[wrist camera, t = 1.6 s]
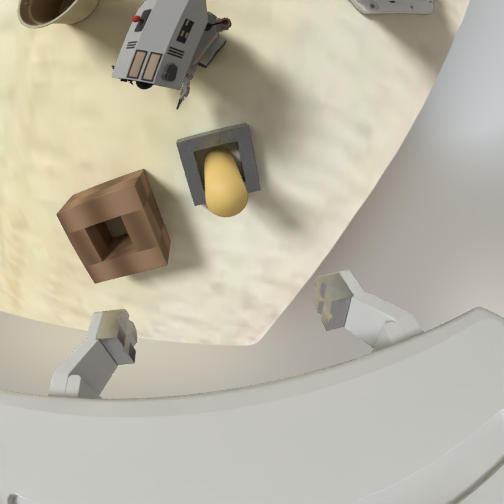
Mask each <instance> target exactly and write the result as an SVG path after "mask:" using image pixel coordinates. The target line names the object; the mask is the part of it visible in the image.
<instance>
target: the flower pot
mask: <svg viewBox="0 0 504 504" xmlns="http://www.w3.org/2000/svg"><path fill="white" fill-rule="evenodd" d="M65 2H66V0H20V1H19V5H18V19H19V21H20V22H21V24H22V25H24V26H25V27H28V28H41V27H45V26H48V25H50V24H52V23H62V24H74V23H77V22H79V21H81V20H83V19H85V18H86V17H88V16H89V15H90V14H91V13H92V12H93V11H94V9H95V8H96V6H97V5H98V2H99V0H68V1H67V2H66V4H65Z"/></svg>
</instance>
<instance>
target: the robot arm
mask: <svg viewBox="0 0 504 504" xmlns="http://www.w3.org/2000/svg"><path fill="white" fill-rule="evenodd" d="M350 1H351V3H352V4H353V5H354V6H355V7H356V8H357V9H358V10H359V11H360V12H361V13H363V14H384V13H412V14H430V13H432V11H433V8H434V1H435V0H350ZM370 4H371V5H372V7H373V8H372V7H371V6H370ZM315 286H316V290H315V291H314V295H313V299H314V305H315V307H316V310H317V312H318V313H320V314H322V317H321V320H322V323H323V325H324V327H325V329H326V331H328V330H332V329H336V328H341V327H345V328H346V329H347V330H349V331H350V332H351V333H353V334H354V335H356V336H357V337H358V338H360V339H361V340H363V341H364V342H365V343H367V344H368V345H370V346H371V347H372V348H374V349H373V351H372V353H371V354H368V355H365V356H362V357H359V358H356V359H353V360H350V361H347V362H344V363H340V364H337V365H333V366H330V367H327V368H323V369H319V370H316V371H312V372H308V373H304V374H300V375H297V376H292V377H289V378H284V379H279V380H275V381H270V382H266V383H261V384H256V385H250V386H245V387H240V388H234V389H227V390H220V391H214V392H206V393H199V394H189V395H179V396H168V397H154V398H131V399H102V398H101V397H100V396H99V395H100V393H101V392H102V390H103V389H104V387H105V385H106V384H107V382H108V381H109V379H110V377H111V376H112V374H113V373H114V371H115V370H116V368H117V366H118V365H122V364H132V363H135V353H136V351H135V349H134V345H135V344H136V343H137V331H136V328H135V325H134V323H133V322H132V321H130V320H129V314H128V312H127V310H125V309H120V310H110V311H103V312H95V313H94V314H93V316H92V319H91V323H90V326H89V330H88V334H87V338H86V341H83V342H81V343H80V345H79V346H78V347H77V348H76V349H75V350H74V351H73V352H72V353H71V354H70V356H69V357H68V358H67V359H66V360H65V361H64V362H63V363H62V364H61V365H60V367H59V368H58V369H57V370H56V371H55V372H54V374H53V377H52V381H51V385H50V390H49V394H48V396H43V395H33V394H26V393H19V392H13V391H7V390H2V389H0V504H504V318H502V317H500V316H499V315H497V314H495V313H493V312H491V311H489V310H487V309H484V308H481V307H477V308H474V309H472V310H470V311H468V312H466V313H464V314H462V315H460V316H458V317H456V318H454V319H452V320H450V321H448V322H446V323H444V324H442V325H440V326H438V327H436V328H434V329H431V330H429V331H427V332H424V331H423V330H422V329H421V327H420V326H419V324H418V323H417V321H416V320H415V319H414V317H413V316H412V314H411V313H409V312H406V311H405V310H403V309H401V308H398V307H396V306H394V305H392V304H390V303H388V302H386V301H384V300H382V299H380V298H378V297H376V296H374V295H372V294H370V293H365V292H364V291H363V289H362V287H361V286H360V285H359V283H358V282H357V280H356V279H355V278H354V276H353V275H352V273H351V272H350V271H349V270H345V271H340V272H337V273H332V274H327V275H323V276H318V277H316V278H315Z"/></svg>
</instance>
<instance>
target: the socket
mask: <svg viewBox="0 0 504 504" xmlns="http://www.w3.org/2000/svg"><path fill="white" fill-rule="evenodd" d="M56 215H57V217H58V219H59V221H60V223H61V225H62V227H63V229H64V231H65V233H66V234H67V236H68V238H69V240H70V242H71V244H72V246H73V247H74V249H75V251H76V253H77V254H78V256H79V258H80V260H81V261H82V263H83V265H84V266H85V268H86V270H87V271H88V273H89V275H90V276H91V278H92V280H93V281H94V283H99V282H103V281H107V280H111V279H115V278H119V277H123V276H127V275H131V274H135V273H139V272H143V271H147V270H151V269H155V268H159V267H163V266H167V264H168V256H169V249H170V239H169V236H168V233H167V231H166V228H165V226H164V223H163V221H162V218H161V215H160V213H159V210H158V207H157V205H156V202H155V199H154V196H153V194H152V191H151V188H150V185H149V182H148V179H147V177H146V174H145V171H144V169H142V170H139V171H136V172H133V173H130V174H127V175H124V176H121V177H119V178H116V179H113V180H110V181H108V182H105V183H102V184H100V185H97V186H95V187H92V188H90V189H87V190H85V191H82V192H80V193H77V194H75V195H73V196H72V197H71V198H70V199H69V200H68V201H67V203H66V204H65V205H64V206H63V207H62V208H61V210H60V211H59V212H58V213H57V214H56ZM119 216H121V218H122V221H123V223H124V225H125V227H126V230H127V232H128V234H125V235H122V236H119V237H116V238H112V237H111V235H110V233H109V230H108V228H107V226H106V224H105V222H104V221H107V220H110V219H113V218H116V217H119Z"/></svg>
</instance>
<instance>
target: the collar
mask: <svg viewBox="0 0 504 504" xmlns="http://www.w3.org/2000/svg"><path fill="white" fill-rule="evenodd" d="M231 142H237V147H238V151H239V156H240V161H241V166H242V171H243V177H242V180H243V182H244V185H245V187H246V190H247V193H250V192H254V191H258V190H260V184H259V179H258V173H257V168H256V162H255V157H254V151H253V146H252V141H251V135H250V130H249V125H248V124H247V123H244V124H239V125H235V126H230V127H225V128H221V129H217V130H213V131H208V132H204V133H200V134H197V135H193V136H189V137H185V138H182V139H178V140H177V147H178V151H179V154H180V158H181V161H182V165H183V168H184V171H185V175H186V178H187V182H188V185H189V188H190V192H191V195H192V198H193V202H194V205H195V206H197V205H201V204H204V203H206V197H205V186H204V185H203V181H202V178H201V174H200V170H199V167H198V163H197V159H196V155H195V152H194V151H198V150H202V149H206V148H210V147H214V146H218V145H222V144H227V143H231Z"/></svg>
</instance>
